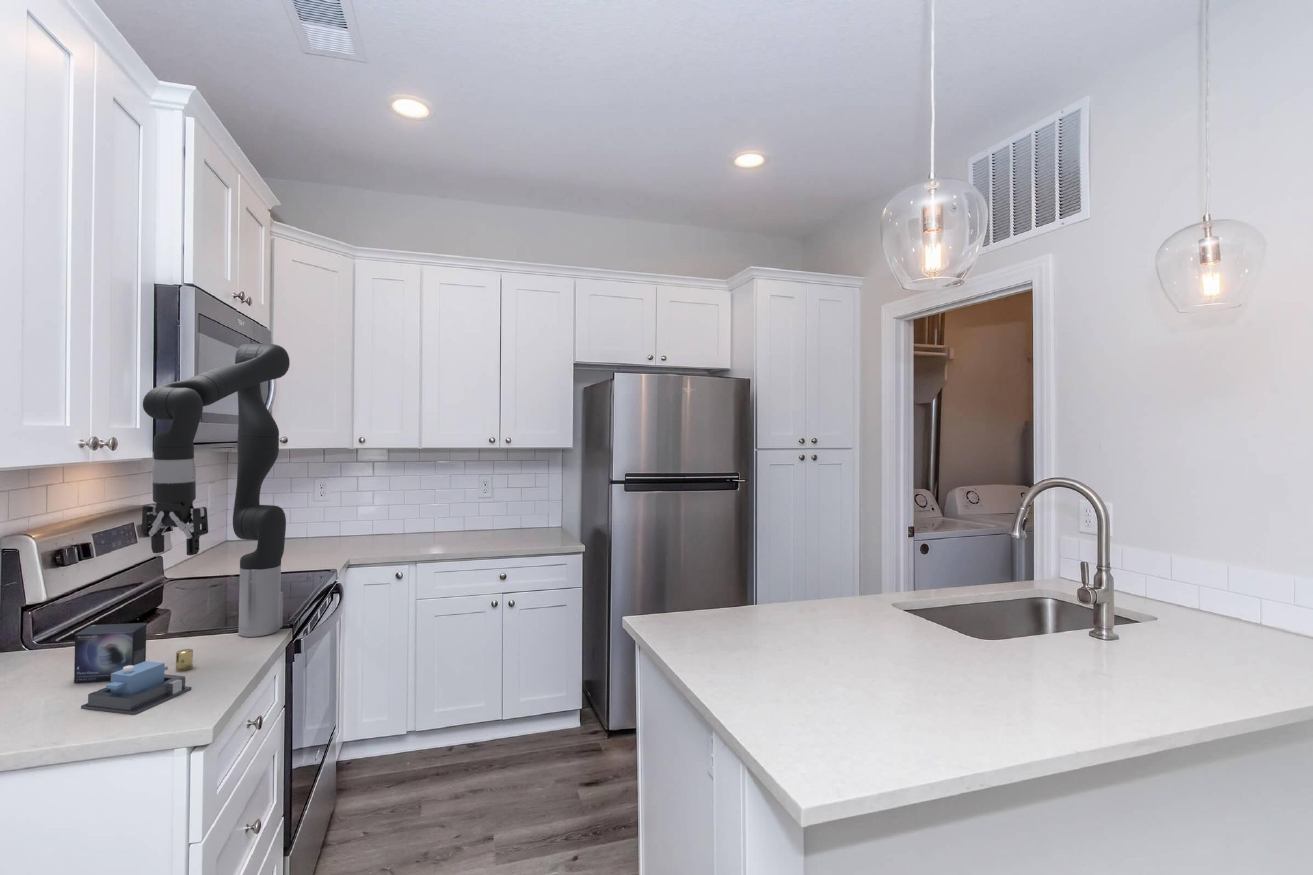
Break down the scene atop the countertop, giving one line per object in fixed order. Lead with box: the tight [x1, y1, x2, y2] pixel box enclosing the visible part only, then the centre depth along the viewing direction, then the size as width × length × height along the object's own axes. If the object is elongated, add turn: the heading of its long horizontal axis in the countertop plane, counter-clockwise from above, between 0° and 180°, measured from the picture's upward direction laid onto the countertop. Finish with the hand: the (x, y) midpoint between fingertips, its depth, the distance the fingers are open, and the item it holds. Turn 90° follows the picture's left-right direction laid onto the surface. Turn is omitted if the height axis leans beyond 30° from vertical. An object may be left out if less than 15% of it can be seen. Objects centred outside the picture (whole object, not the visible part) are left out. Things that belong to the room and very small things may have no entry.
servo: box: [105, 660, 169, 695], centre depth 127 cm, size 10×4×6 cm, turn 170°
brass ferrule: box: [175, 648, 194, 673], centre depth 143 cm, size 3×3×4 cm
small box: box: [73, 622, 148, 684], centre depth 137 cm, size 11×6×10 cm, turn 105°
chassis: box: [80, 673, 192, 716], centre depth 127 cm, size 12×12×3 cm
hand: (175, 553), depth 141 cm, fingers open, 8 cm apart
